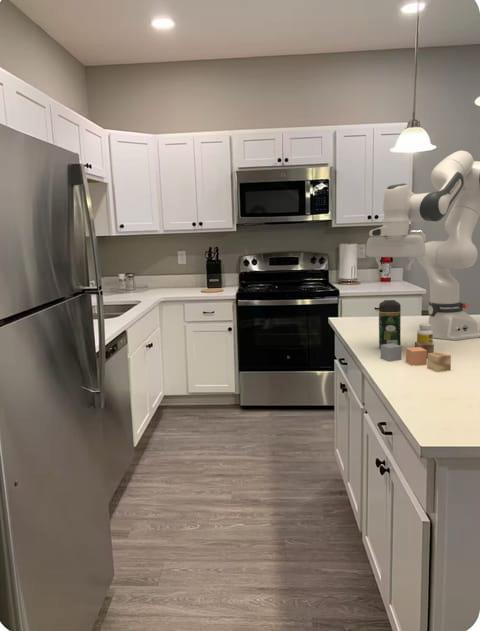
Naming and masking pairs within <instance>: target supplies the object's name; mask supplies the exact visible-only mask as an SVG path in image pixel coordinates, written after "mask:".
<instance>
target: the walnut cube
mask: <svg viewBox="0 0 480 631" xmlns="http://www.w3.org/2000/svg"><path fill="white" fill-rule="evenodd" d="M414 347H421V348H423V349H425V350H427V358H428V353H434V352H435V351H434V350H435V348H434V347H435V345H434V344H433V343H430V342H417V341H414Z"/></svg>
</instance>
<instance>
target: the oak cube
mask: <svg viewBox="0 0 480 631" xmlns="http://www.w3.org/2000/svg"><path fill="white" fill-rule="evenodd" d="M451 364H452V354H448V353H446V352H444V351H436V352H435V351H434V353H428V358H427V365H426V366H427V367H426V369H429V370H432V371H434V372H436V373H439V372H440V373H441V372H446V371H447V370H448V371H451V368H452V366H451Z"/></svg>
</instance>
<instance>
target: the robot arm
mask: <svg viewBox="0 0 480 631" xmlns="http://www.w3.org/2000/svg"><path fill="white" fill-rule="evenodd" d="M430 181H431V184H432V186H433V187H434V188H435V190H437V191H431V192H424V193H423V192H422V193H415V192H413V191H411V190H410V186H409V184H408V183H396V184H392V185H391V184H390V185H389V186H387V187H386V188H385V191H384V195H383V203H382V204H383V206H382V207H383V208H382V209H383V221H382V226H380V227H376V228H375V229H371V230H370V231H369V232H368V234H369V238H367V242H366V246H365V255H366V257H368V258H375V261H376V263H377V265H378V271H384V269H385V268H384V266H385V265H384V264H382V263H381V261H382V258H408V261H409V263H408V264H406V265H405V271H411V269H412V265H413V264H414V262H415V258H416V260H417V262H418V264H419V265H420V266H422V268H423V270H425V273H426V275H427V278H428V281H429V295H430V296H429V302H428V315H429V316H428V321H427V324H430V325H431V329H430V330H431V331H432V332H433V339H440V340H441V339H443V340H450V341H458V340H468V339H474V338H475V339H476V338H480V330H479V326H478V322H477V320H476V319H475V318H473V317H472V315H471V316H470V314H468V313H467V312H465V311H464V309H468V308H469V304H468V303H466V302H461V301H460V282H459V281H458V280H457V279H456V278H455V277H454V276H453V275H452V273H451V271H450V269H452V270H453V269H454V270H461V269H466V268H471V267H472V266H474V265H475V263H476V261H477V260H478V254H479V253H478V249H477V247H476V245H475V244H474V243H473V240H472V236H473V232H474V230H475V227H476V225H477V223H478V222H479V221H478V220H479V218H480V161H479V160H478V161H477V160H474V158H473V155H472V154H471V153H470V152H469V151H467V150H466V151H465V150H457V151H455V152H453V153H451V154H449V155H448V156H446V157H444V159H442V160H441V161H440V162H438V164H436V166H435V167H434V168H433V170H432V171H431V174H430ZM460 192H461V193H460ZM459 193H460V194H459ZM458 195H459V196H458ZM457 196H458V197H457ZM456 197H457V199H456ZM455 199H456V200H455ZM453 202H454V204H453V205H452V203H453ZM451 205H452V208H451V210H450V212H449V213H448V210H449V208H450V206H451ZM447 213H448V216H447V218H446V220H445V223H444V231H445V232H446V233H447V234H448V238H447V239H446V240H432V241H431V240H430V241H428V242H427V233H426V232H425V231H423V230H422V229H421V230H419V229H417V230H410V222H440V221H441V220H442V219H443V218H445V216H446V215H447Z"/></svg>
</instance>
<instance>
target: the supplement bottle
mask: <svg viewBox="0 0 480 631" xmlns="http://www.w3.org/2000/svg"><path fill="white" fill-rule="evenodd" d="M418 326H419V327H418V328H419V329H418V330H417V332H416V333H417V334H416V342H430V343H432V344H433V339H434V338H433V332H432V331H431V330H430V329H431V325H430V324H428V323H421V324H419V325H418Z"/></svg>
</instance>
